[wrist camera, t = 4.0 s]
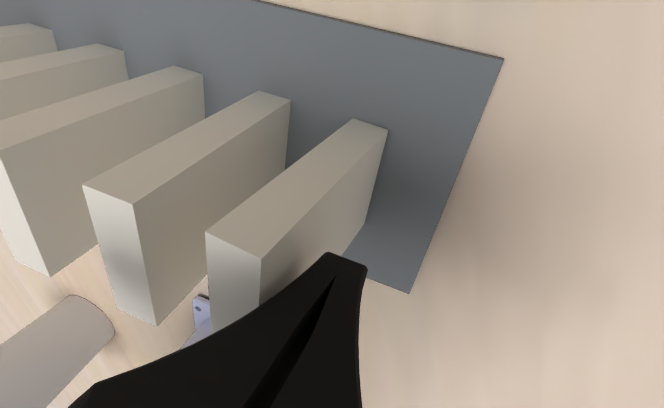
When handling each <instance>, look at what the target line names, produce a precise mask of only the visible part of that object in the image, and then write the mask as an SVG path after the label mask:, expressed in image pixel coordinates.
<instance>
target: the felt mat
mask: <svg viewBox="0 0 664 408" xmlns="http://www.w3.org/2000/svg"><path fill="white" fill-rule="evenodd" d="M25 23H30V24H33V25H37V26H40V27H44V28H47V29H50V30H52V31H53V34H54V38H55V42H56V46H57V49H58V51H62V50H67V49H72V48H77V47H82V46H87V45H92V44H97V43H98V44H102V45H105V46H109V47H112V48H115V49H119V50H122V51H124V55H125V61H126V67H127V73H128V79H129V80H130V79H133V78H136V77H140V76H143V75H146V74H149V73H152V72H155V71H159V70H162V69H165V68H168V67H171V66H177V67H180V68H184V69H187V70H190V71H194V72H197V73H201V74H203V85H204V105H205V119H206V118H208V117H209V116H211V115H213V114H215V113H217V112H219V111H221V110H223V109H225V108H226V107H228V106H230V105H232V104H234V103H236V102H238V101H240V100H241V99H243V98H245V97H247V96H249V95H251V94H253V93H255V92H257V91H258V90H259V91H262V92H266V93H269V94H272V95H276V96H279V97H283V98H286V99H289V100H291V105H290V116H289V127H288V139H287V150H286V161H285V170H286V169H287V168H289V167H290V166H291V165H293V164H294V163H295V162H296V161H298V160H299V159H300V158H302V157H303V156H304V155H306V154H307V153H308V152H310V151H311V150H312V149H313V148H315V147H316V146H317V145H319V144H320V143H321V142H323V141H324V140H325V139H327V138H328V137H329V136H330V135H332V134H333V133H334V132H336V131H337V130H338V129H340V128H341V127H342V126H344V125H345V124H346V123H347V122H349V121H350V120H351V119H353V118H354V119H357V120H360V121H363V122H366V123H369V124H372V125H375V126H378V127H381V128H384V129H387V130H388V134H387V138H386V141H385V145H384V149H383V153H382V157H381V161H380V165H379V169H378V172H377V176H376V180H375V184H374V188H373V192H372V196H371V200H370V203H369V207H368V211H367V215H366V219H365V223H364V225H363V226H362V228H361V229H360V231H359V232H358V233H357V235H356V236H355V238H354V239H353V240H352V242H351V243H350V245H349V246H348V247H347V249H346V250H345V252H344V253H343V254H342V257H344V258H347V259H349V260H352V261H355V262H357V263H360V264H363V265H365V266H366V267H367V269H368V272H367V275H366V278H369V279H371V280H374V281H377V282H379V283H382V284H384V285H387V286H390V287H392V288H395V289H397V290H400V291H403V292H405V293H408V294H409V293H410V291H411V288H412V286H413V283H414V281H415V278H416V276H417V273H418V271H419V268H420V266H421V264H422V261H423V259H424V256H425V254H426V251H427V249H428V246H429V244H430V241H431V239H432V236H433V234H434V232H435V229H436V227H437V224H438V222H439V219H440V217H441V214H442V212H443V209H444V207H445V204H446V202H447V199H448V197H449V195H450V192H451V190H452V187H453V185H454V182H455V180H456V177H457V175H458V172H459V170H460V167H461V165H462V163H463V160H464V158H465V155H466V153H467V150H468V148H469V145H470V143H471V140H472V138H473V135H474V133H475V130H476V128H477V126H478V123H479V121H480V118H481V116H482V113H483V111H484V108H485V106H486V103H487V101H488V98H489V96H490V94H491V91H492V89H493V86H494V84H495V81H496V79H497V76H498V74H499V71H500V69H501V66H502V64H503V61H504V59H503V58H499V57H495V56H491V55H487V54H482V53H478V52H474V51H470V50H466V49H461V48H457V47H453V46H449V45H444V44H440V43H436V42H432V41H428V40H423V39H419V38H415V37H411V36H407V35H402V34H398V33H394V32H390V31H385V30H381V29H377V28H373V27H369V26H364V25H360V24H356V23H352V22H348V21H343V20H339V19H335V18H331V17H326V16H322V15H318V14H314V13H310V12H305V11H301V10H297V9H293V8H289V7H284V6H280V5H276V4H272V3H267V2H263V1H259V0H0V27H2V26H10V25H18V24H25Z"/></svg>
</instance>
